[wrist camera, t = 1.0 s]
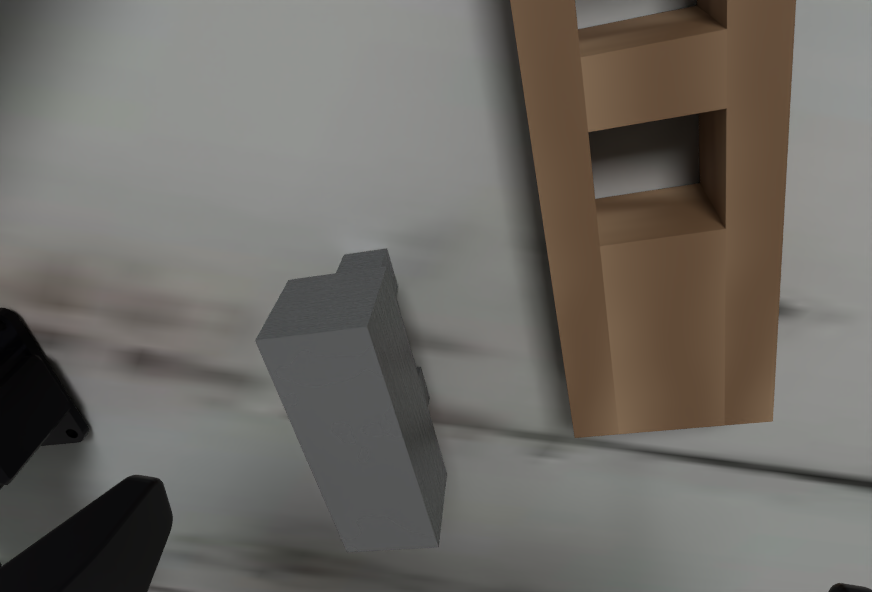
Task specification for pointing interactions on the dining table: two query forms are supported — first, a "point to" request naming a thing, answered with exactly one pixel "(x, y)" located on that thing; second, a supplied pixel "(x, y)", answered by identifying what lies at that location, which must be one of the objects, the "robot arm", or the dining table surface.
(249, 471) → the dining table surface
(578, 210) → the rail
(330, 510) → the grey block
